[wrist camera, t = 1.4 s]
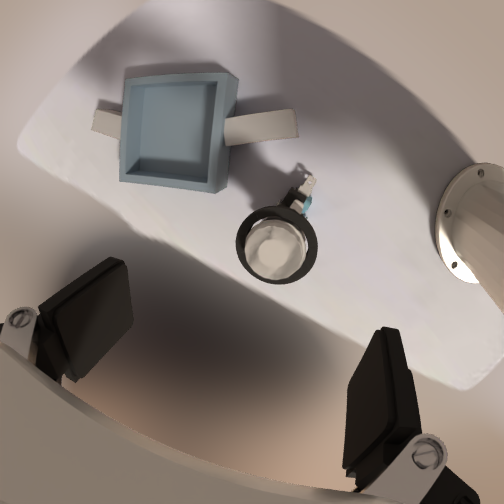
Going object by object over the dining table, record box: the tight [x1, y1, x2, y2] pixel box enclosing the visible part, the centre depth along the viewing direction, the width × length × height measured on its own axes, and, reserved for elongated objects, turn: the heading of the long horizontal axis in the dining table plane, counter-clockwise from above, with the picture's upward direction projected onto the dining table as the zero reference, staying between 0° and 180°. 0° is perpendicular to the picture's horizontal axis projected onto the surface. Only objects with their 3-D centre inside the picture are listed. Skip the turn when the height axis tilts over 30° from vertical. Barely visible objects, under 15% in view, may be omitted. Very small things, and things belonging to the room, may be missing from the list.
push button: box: [236, 175, 318, 284], centre depth 21 cm, size 7×5×10 cm
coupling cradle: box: [91, 73, 299, 194], centre depth 24 cm, size 22×11×3 cm, turn 83°
